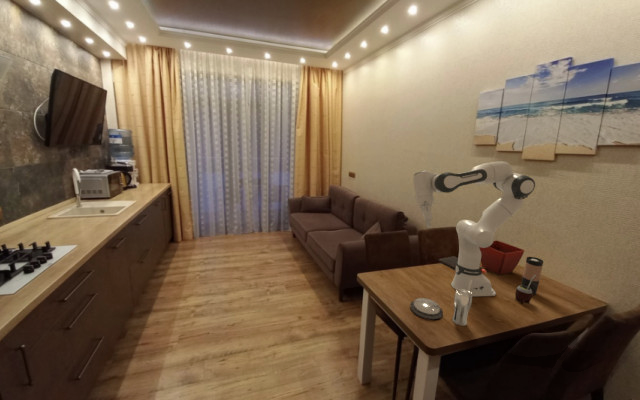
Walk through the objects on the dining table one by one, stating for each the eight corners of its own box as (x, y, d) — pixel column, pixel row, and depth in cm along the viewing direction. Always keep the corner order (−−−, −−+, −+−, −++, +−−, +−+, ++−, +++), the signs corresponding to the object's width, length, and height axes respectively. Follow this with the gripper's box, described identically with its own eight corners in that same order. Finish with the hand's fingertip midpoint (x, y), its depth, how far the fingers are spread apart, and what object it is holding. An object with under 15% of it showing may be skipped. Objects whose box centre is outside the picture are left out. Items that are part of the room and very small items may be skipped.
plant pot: (500, 278, 170) (505, 253, 167) (473, 265, 188) (477, 242, 184) (520, 274, 177) (525, 250, 174) (493, 262, 194) (497, 240, 191)
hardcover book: (453, 259, 198) (454, 256, 198) (483, 272, 178) (483, 269, 177) (437, 261, 192) (438, 258, 192) (466, 276, 171) (466, 273, 171)
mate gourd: (514, 301, 143) (519, 276, 141) (514, 295, 150) (519, 270, 147) (531, 307, 139) (537, 280, 136) (530, 300, 146) (536, 274, 143)
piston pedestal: (436, 302, 139) (437, 297, 139) (447, 321, 125) (448, 315, 124) (406, 300, 140) (407, 295, 140) (414, 318, 126) (415, 312, 125)
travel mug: (537, 291, 155) (544, 259, 151) (535, 296, 150) (543, 263, 146) (520, 286, 160) (527, 255, 156) (518, 291, 155) (525, 259, 151)
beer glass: (467, 319, 126) (472, 290, 124) (468, 328, 120) (473, 298, 117) (451, 315, 129) (455, 286, 126) (451, 323, 123) (455, 293, 120)
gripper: (432, 201, 132) (436, 228, 132) (429, 199, 151) (433, 223, 151) (419, 202, 134) (423, 230, 134) (418, 201, 153) (421, 225, 153)
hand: (428, 226), depth 143 cm, fingers open, 8 cm apart
